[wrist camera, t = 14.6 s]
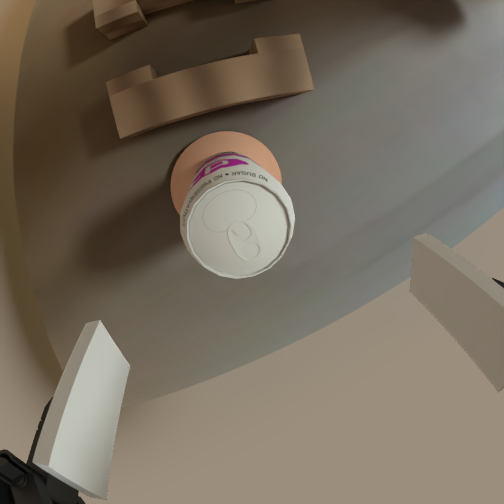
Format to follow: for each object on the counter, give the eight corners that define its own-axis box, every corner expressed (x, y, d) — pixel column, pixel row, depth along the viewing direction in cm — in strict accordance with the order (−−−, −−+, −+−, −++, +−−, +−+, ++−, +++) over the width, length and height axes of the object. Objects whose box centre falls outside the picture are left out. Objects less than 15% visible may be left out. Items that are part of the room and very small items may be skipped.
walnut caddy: (261, -36, 20) (268, -55, 16) (299, 94, 29) (314, 89, 25) (104, 2, 20) (91, -12, 15) (133, 136, 29) (119, 138, 24)
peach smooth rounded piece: (267, 120, 30) (269, 120, 29) (289, 221, 36) (290, 223, 35) (158, 149, 30) (157, 149, 29) (189, 248, 36) (189, 250, 35)
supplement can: (180, 172, 31) (153, 208, 17) (245, 139, 30) (271, 147, 16) (212, 231, 34) (214, 302, 21) (274, 200, 33) (316, 254, 20)
